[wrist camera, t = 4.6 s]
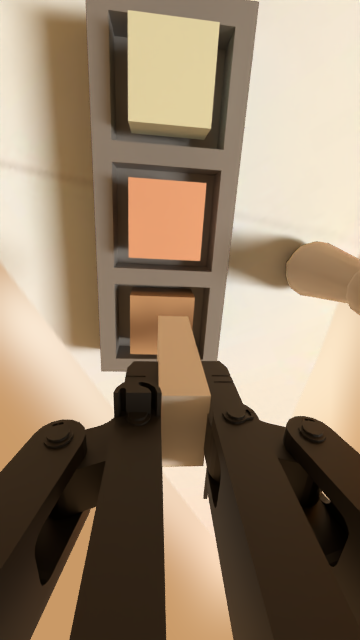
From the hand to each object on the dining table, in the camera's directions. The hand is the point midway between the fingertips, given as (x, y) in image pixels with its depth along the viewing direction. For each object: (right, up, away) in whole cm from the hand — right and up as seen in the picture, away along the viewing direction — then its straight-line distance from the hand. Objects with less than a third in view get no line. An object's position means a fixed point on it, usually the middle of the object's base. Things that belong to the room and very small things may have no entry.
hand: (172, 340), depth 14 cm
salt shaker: (+14, +7, +18) cm, 24 cm away
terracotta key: (-1, +10, +11) cm, 15 cm away
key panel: (-1, +11, +15) cm, 19 cm away
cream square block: (0, +19, +8) cm, 21 cm away
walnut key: (-2, +2, +16) cm, 16 cm away
